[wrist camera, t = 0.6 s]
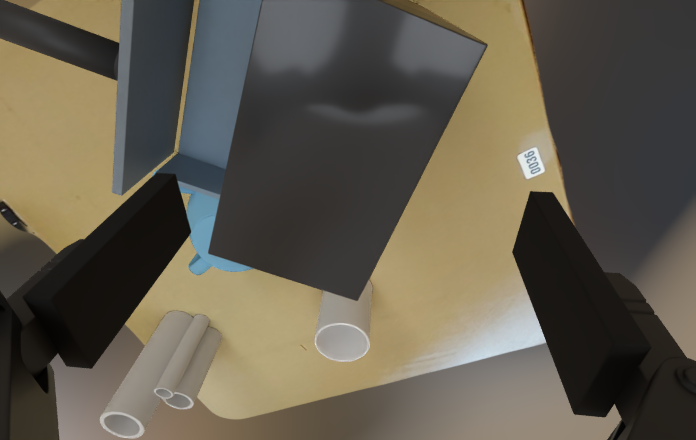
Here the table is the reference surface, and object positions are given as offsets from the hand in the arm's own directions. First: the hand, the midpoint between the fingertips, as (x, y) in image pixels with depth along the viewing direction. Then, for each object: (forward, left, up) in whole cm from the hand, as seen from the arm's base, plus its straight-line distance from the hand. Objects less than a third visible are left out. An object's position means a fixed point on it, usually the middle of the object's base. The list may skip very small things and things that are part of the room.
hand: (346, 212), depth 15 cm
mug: (+30, +26, -39) cm, 55 cm away
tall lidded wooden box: (+2, 0, -39) cm, 39 cm away
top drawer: (+6, -11, -15) cm, 19 cm away
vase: (+57, +12, -39) cm, 70 cm away
